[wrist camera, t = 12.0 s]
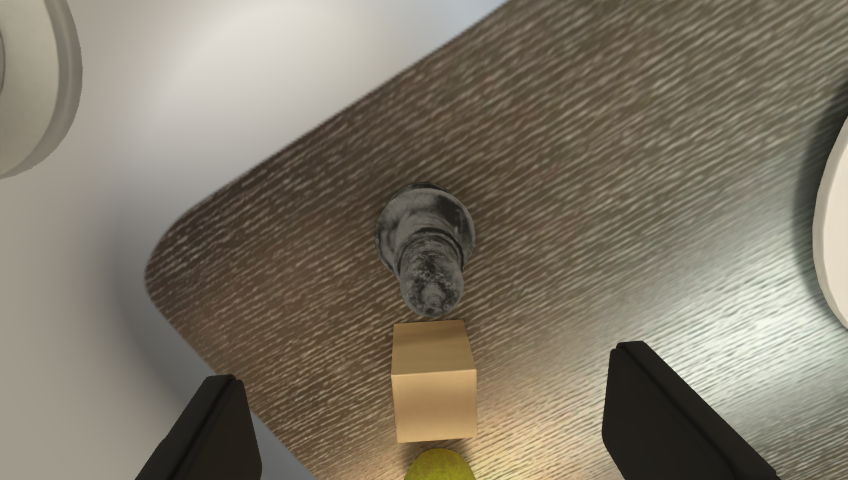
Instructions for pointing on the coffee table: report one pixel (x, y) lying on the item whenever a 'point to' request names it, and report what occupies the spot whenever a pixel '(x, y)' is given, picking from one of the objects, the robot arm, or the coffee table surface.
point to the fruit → (439, 466)
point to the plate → (833, 229)
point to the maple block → (433, 381)
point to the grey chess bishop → (426, 246)
